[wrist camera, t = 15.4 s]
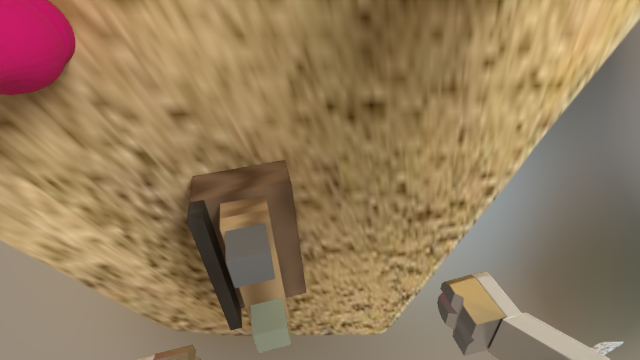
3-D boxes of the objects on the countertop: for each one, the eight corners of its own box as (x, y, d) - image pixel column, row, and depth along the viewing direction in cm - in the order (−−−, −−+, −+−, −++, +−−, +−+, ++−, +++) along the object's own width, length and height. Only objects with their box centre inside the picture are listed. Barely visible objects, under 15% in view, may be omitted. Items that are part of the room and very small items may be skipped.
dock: (284, 160, 41) (295, 199, 35) (300, 266, 53) (310, 310, 46) (192, 176, 39) (186, 221, 33) (229, 282, 51) (230, 330, 45)
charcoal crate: (264, 223, 34) (269, 251, 31) (270, 249, 37) (275, 278, 33) (225, 231, 34) (225, 261, 30) (233, 257, 36) (234, 288, 33)
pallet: (265, 195, 37) (269, 218, 34) (285, 293, 48) (289, 317, 45) (220, 203, 36) (219, 228, 33) (250, 301, 47) (252, 327, 44)
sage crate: (282, 297, 42) (286, 326, 39) (286, 315, 44) (291, 344, 41) (250, 305, 41) (252, 335, 38) (256, 323, 44) (258, 353, 40)
